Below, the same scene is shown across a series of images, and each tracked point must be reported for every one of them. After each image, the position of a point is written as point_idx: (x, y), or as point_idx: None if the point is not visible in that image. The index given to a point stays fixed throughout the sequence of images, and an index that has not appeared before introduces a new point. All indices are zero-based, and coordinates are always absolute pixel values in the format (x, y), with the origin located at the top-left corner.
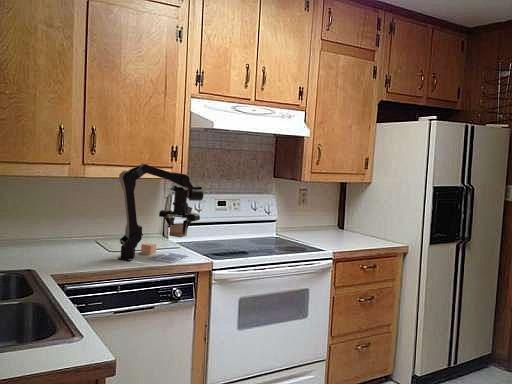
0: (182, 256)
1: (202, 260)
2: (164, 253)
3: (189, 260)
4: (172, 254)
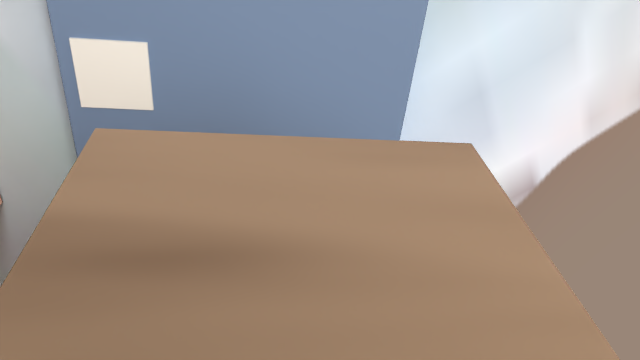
0: (354, 74)
1: (609, 26)
2: (75, 70)
3: (459, 115)
4: (190, 47)
